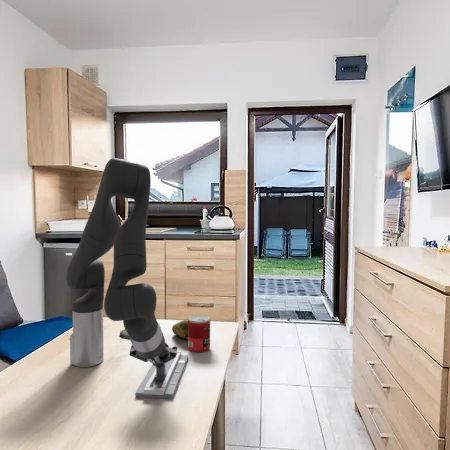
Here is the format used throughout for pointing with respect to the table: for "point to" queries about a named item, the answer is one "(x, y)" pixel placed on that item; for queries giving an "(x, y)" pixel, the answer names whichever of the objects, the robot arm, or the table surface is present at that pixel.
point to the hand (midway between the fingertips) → (159, 364)
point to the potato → (181, 329)
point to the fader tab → (161, 373)
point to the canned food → (199, 333)
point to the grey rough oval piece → (124, 334)
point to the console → (170, 384)
